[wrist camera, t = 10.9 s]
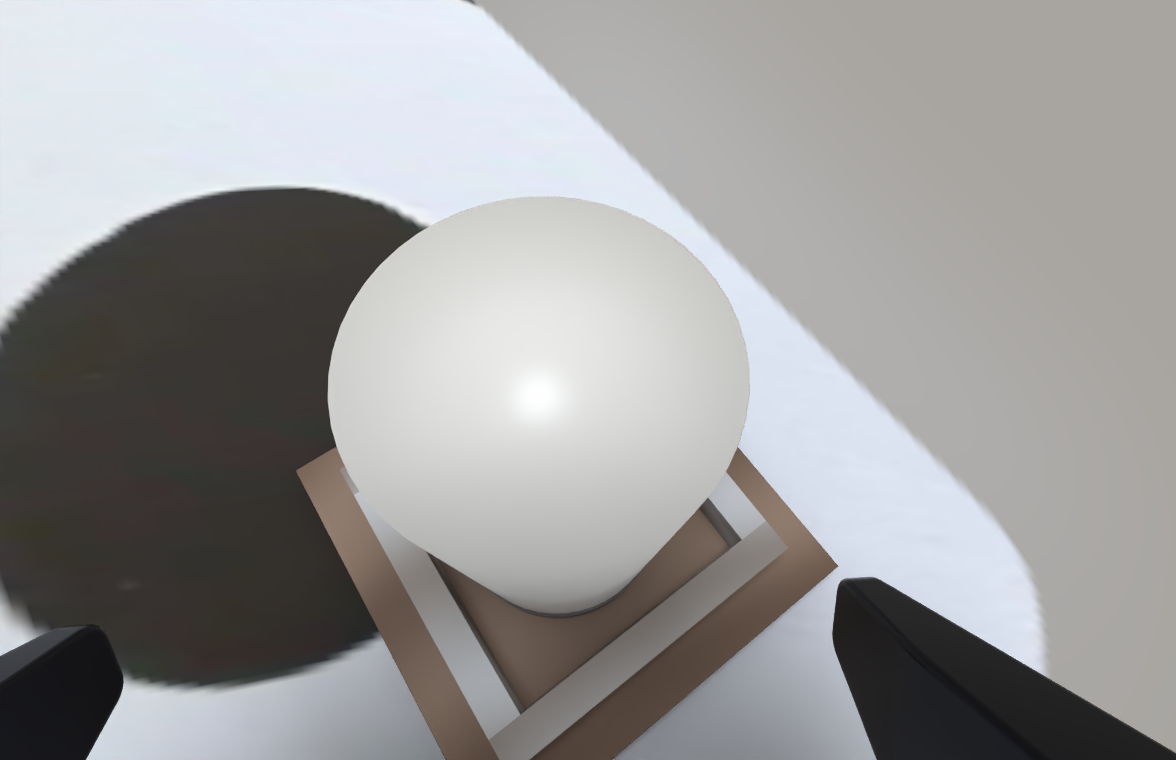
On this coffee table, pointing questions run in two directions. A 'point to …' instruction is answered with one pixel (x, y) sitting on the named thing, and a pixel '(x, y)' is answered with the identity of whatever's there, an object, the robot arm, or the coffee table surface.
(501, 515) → the white cylinder
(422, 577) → the walnut board
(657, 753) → the coffee table surface
